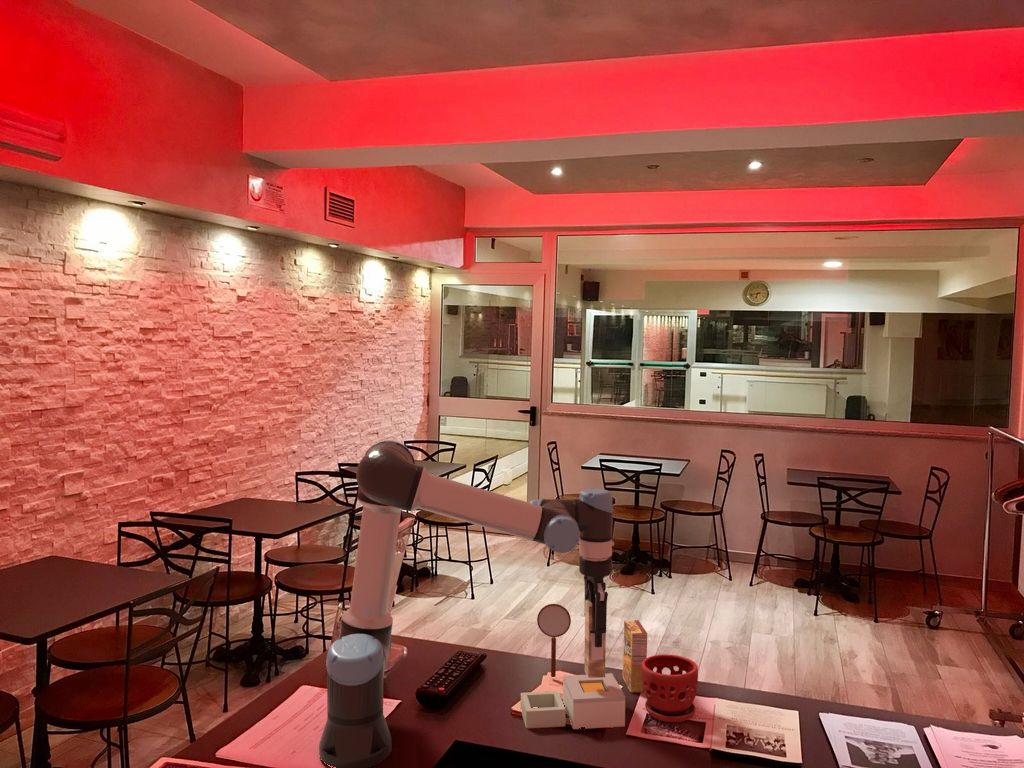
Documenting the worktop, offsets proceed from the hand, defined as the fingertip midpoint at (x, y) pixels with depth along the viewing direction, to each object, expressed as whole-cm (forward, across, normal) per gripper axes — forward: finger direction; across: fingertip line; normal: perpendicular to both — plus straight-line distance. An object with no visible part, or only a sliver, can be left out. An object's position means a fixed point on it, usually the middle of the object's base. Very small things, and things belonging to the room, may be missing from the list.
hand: (594, 654), depth 182 cm
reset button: (+11, 0, 0) cm, 11 cm away
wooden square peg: (+5, 0, 0) cm, 5 cm away
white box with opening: (+14, 0, 0) cm, 14 cm away
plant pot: (+15, -1, -18) cm, 23 cm away
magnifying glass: (+15, +19, +6) cm, 25 cm away
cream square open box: (+14, 0, +12) cm, 19 cm away
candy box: (+15, +14, -14) cm, 25 cm away
